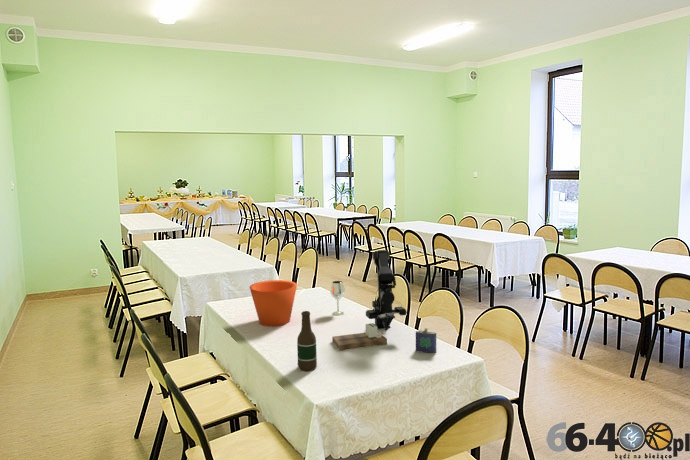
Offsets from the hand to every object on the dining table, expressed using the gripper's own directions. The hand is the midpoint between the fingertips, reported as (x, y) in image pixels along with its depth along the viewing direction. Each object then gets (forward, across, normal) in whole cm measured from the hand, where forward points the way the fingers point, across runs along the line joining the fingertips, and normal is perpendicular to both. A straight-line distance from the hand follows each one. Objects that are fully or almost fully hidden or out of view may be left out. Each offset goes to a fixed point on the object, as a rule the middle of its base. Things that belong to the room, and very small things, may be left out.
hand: (386, 330), depth 242 cm
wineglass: (+5, +10, -48) cm, 49 cm away
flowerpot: (+5, +46, -46) cm, 65 cm away
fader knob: (+2, +7, 0) cm, 8 cm away
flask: (+5, -11, +20) cm, 23 cm away
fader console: (+5, +14, 0) cm, 14 cm away
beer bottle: (+5, +43, +20) cm, 48 cm away
